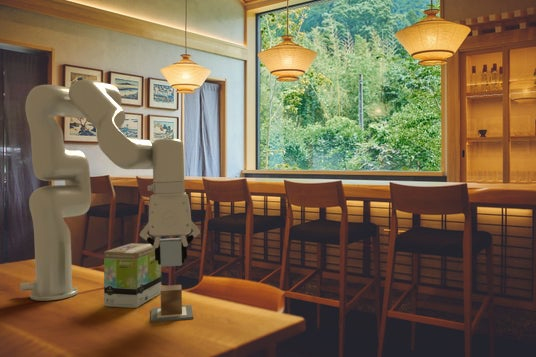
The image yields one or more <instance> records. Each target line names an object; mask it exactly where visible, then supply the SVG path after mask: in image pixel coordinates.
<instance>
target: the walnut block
mask: <svg viewBox="0 0 536 357" xmlns="http://www.w3.org/2000/svg"><path fill="white" fill-rule="evenodd" d="M182 289H183V288H182V284H174V285H161V293H160V307H161V316H164V315H177V314H182V306H183V300H182V299H183V294H182Z"/></svg>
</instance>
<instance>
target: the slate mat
mask: <svg viewBox="0 0 536 357" xmlns="http://www.w3.org/2000/svg"><path fill="white" fill-rule="evenodd" d="M150 311H151V312H150V320H149V322H150V323H159V322H160V323H161V322H170V321H172V322H173V321H181V320H182V321H184V320H194V313H193V307H192V305H191V304H187V305H182V314H177V315H164V316H161V306H160V307H152V308H151V310H150Z"/></svg>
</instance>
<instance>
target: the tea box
mask: <svg viewBox="0 0 536 357" xmlns="http://www.w3.org/2000/svg"><path fill="white" fill-rule="evenodd" d="M103 256H104V257H103V259H104V260H103V306H104V307H113V308H130V309H131V308H132V309H137V308H139V307H140V306H142V305H143V304H145V303H147V302H148V301H150V300H151V299H154V298H156V297H157V296H159V295H161V286H162V267H161V264H160V265H158V261H155V248H154V247H153V246H152V245H151V244H150V243H132V242H131V243H128V244H124V245H121V246H118V247H115V248H112V249H108V250H105V251H104V252H103Z"/></svg>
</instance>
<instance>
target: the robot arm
mask: <svg viewBox="0 0 536 357" xmlns="http://www.w3.org/2000/svg"><path fill="white" fill-rule="evenodd" d="M122 101H123V100H122V93H120V90H119V88H117V87H116V86H115V85H113V84H111V83H107V82H102V81H96V80H92V79H79V80H76V81H74V82H72V84H71V85H70V86H69V87H66V86H62V85H56V84H40V85H36V86H34V87H33V88H32V89H31V90H30V91H29V93H28V95H27V96H26V100H25V105H24V106H25V107H24V108H25V109H24V110H25V115H26V121H27V123H28V127H29V132H30V144H31V160H32V169H33V173H34V176H35V178H37V179H38V180H40V181H46V182H57V181H60V182H61V181H64V183H65V184H64V185H63V184H60V185H44V186H42V187H38V188H37V189H35V190H34V191H32V193H31V195H30V197H29V198H28V199H29V200H28V207H29V211H30V213H31V218H32V225H33V234H34V235H33V238H34V263H35V265H34V268H35V269H34V270H35V271H34V272H35V280H34V281H32V282H20V284H19V290H21V292H22V291H23V292H25V291H30V294H29V298H30V299H31V300H34V301H40V302H45V301H46V302H48V301H57V300H63V299H67V298H70V297H71V298H72V297H73V296H76V295H77V294H78V292H79V290H78V287H77V286H73V273H72V270H73V269H72V268H73V267H72V244H71V243H72V240H71V239H72V238H71V237H72V236H71V230H70V227H69V226H68V224H67V223H66V222H65V219H64V218H70V217H71V218H72V217H79V216H82V215H85V214H86V213H87V212H88V211H89V210H90V208H91V205H92V204H91V203H92V188H91V174H90V164H89V161H88V158H87V156H86V155H85V154H84V152H83V151H81V150H79V149H75V148H65V143H64V133H63V132H64V131H63V129H62V127H61V126H60V124H59V122H58V121H57V120H56V119H55V117H63V118H73V119H86V120H87V121H88V122H90V124H91V125H92V126H93V127H94V128H95V129H96V140H97V144H98V146H99V149H100V150H101V151H102V153H103V154H104V155H105V156H106V157H107V158H108V159H109V160H110V161H111V162H112V163H113V164H114V165H116V166H117V167H119V168H120V169H123V170H152V181H153V183H152V184H148V185H147V191H150V192H153V194H152V195H150V196H149V197H150V198H149V202H148V203H149V205H148V221H147V223H146V225H145V226H144V228H143V229H142V230H141V231H140V232H139V237H141V238H142V239H144V240H145V241H147V243H148V244H151V245H152V246H153V247H154V248H155V261H158V265H160V264H161V256H160V239H162V237H176V236H178V237H179V238H181V251H182V264H185V260H186V259H188V250H187V248H188V246H189V244H190V243H191V242H192V241H193V240H194V239H195V238H196V237H197V236H199V235H200V234H201V230H200V229H199V227H198V226H197V225H196V224H195V223H194V222H193V220H192V216H191V215H192V214H191V205H190V204H191V203H190V199H189V195H188V194H187V193H185V191H186V190H185V159H184V158H185V156H184V155H185V154H184V153H185V152H184V142H183V141H182V140H181V139H178V138H160V139H159V138H158V139H155V140H154V139H142V138H129V137H127V136H126V134H124V133H123V132H122V131H121V130H120V129H121V128H122V127H123V125H124V123H125V121H126V113H125V110H124V109H123V108H122V107H121V105H122ZM148 232H149V234H148ZM187 235H188V236H187ZM186 236H187V237H186ZM153 237H155V238H153Z"/></svg>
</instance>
